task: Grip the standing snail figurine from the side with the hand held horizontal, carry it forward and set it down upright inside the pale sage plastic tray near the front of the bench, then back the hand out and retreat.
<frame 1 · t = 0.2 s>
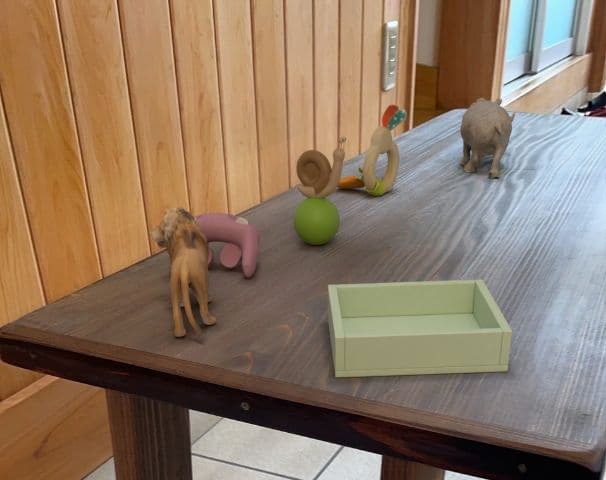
tray: (412, 344, 77), on the table
rattle: (369, 192, 121), on the table
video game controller: (216, 272, 95), on the table
rhinoceros figurine: (484, 166, 132), on the table
snail figurine: (320, 246, 102), on the table
lion figurine: (189, 315, 85), on the table
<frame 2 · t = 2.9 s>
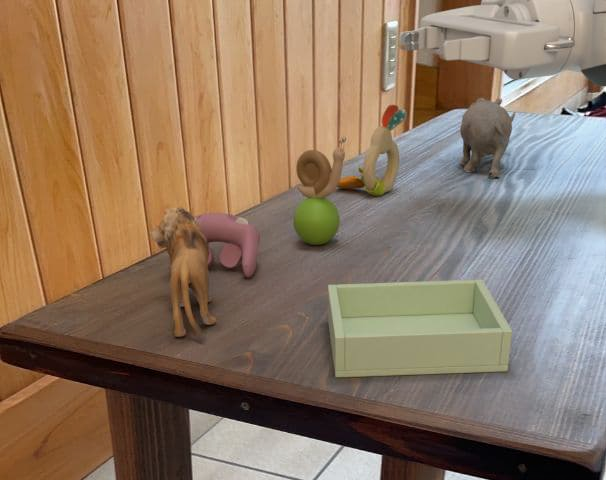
hand: (421, 46, 94), 20 cm above the table, tool horizontal, fingers open, 8 cm apart
nothing on the table moved.
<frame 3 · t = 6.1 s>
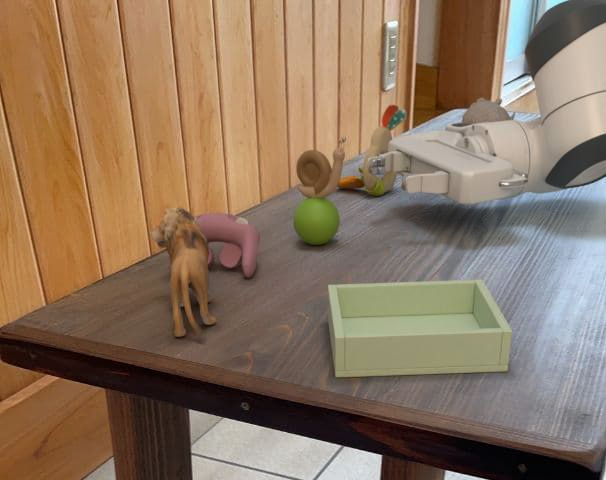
hand: (386, 175, 100), 7 cm above the table, tool horizontal, fingers open, 8 cm apart
nothing on the table moved.
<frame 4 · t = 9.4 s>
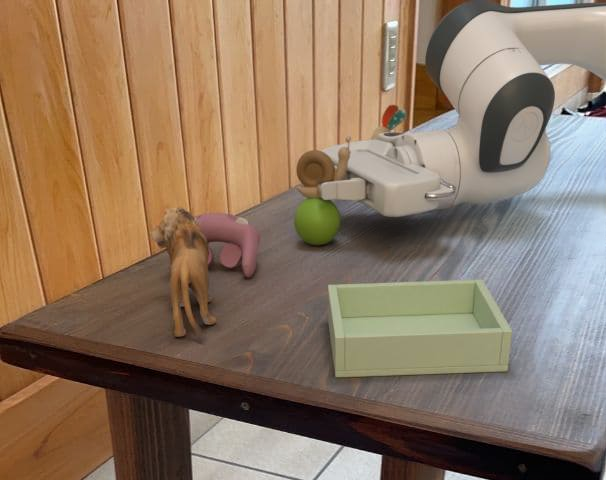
hand: (312, 186, 97), 7 cm above the table, tool horizontal, fingers closed on snail figurine, 3 cm apart
snail figurine: (321, 246, 102), on the table, touching gripper
everything else where it was.
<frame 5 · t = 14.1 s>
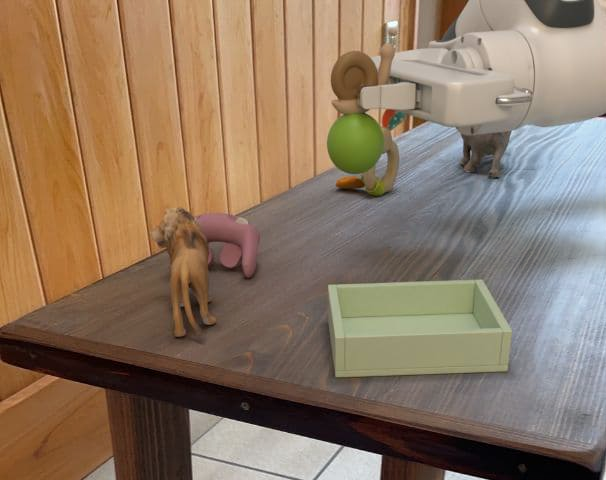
hand: (352, 95, 79), 18 cm above the table, tool horizontal, fingers closed on snail figurine
snail figurine: (359, 175, 83), point 11 cm above the table, touching gripper
everything else where it was.
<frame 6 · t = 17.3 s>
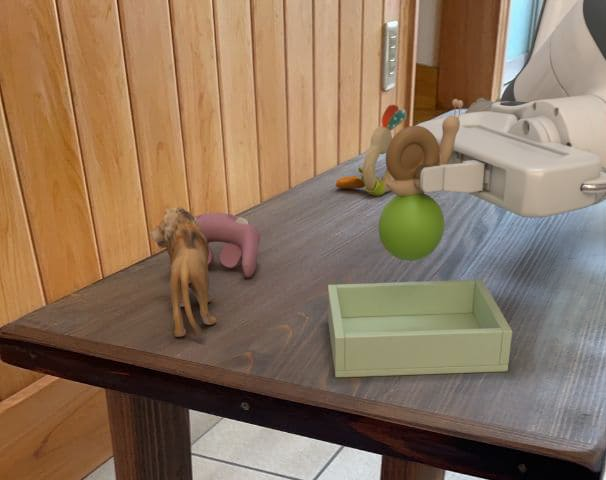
hand: (409, 175, 68), 14 cm above the table, tool horizontal, fingers closed on snail figurine
snail figurine: (414, 260, 73), point 8 cm above the table, touching gripper
everything else where it was.
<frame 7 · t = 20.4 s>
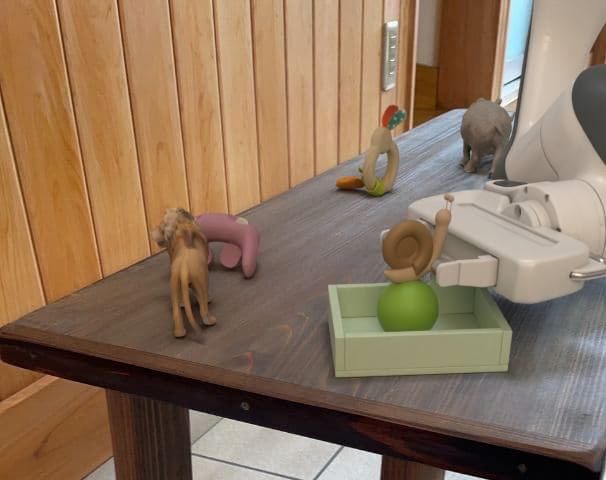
hand: (407, 257, 72), 8 cm above the table, tool horizontal, fingers open, 8 cm apart
snail figurine: (410, 339, 77), resting on tray
everything else where it was.
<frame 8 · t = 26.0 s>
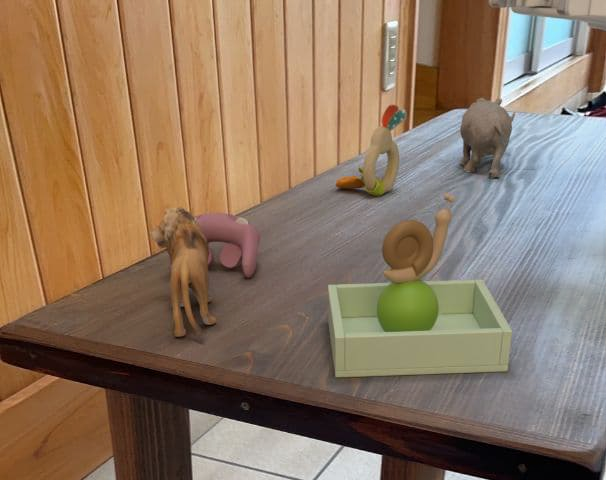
nothing on the table moved.
at the end: snail figurine inside the target area in the tray (0.2 cm from its centre), point 0.4 cm above the tray's base; snail figurine tilted 0°; the gripper is holding nothing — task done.
